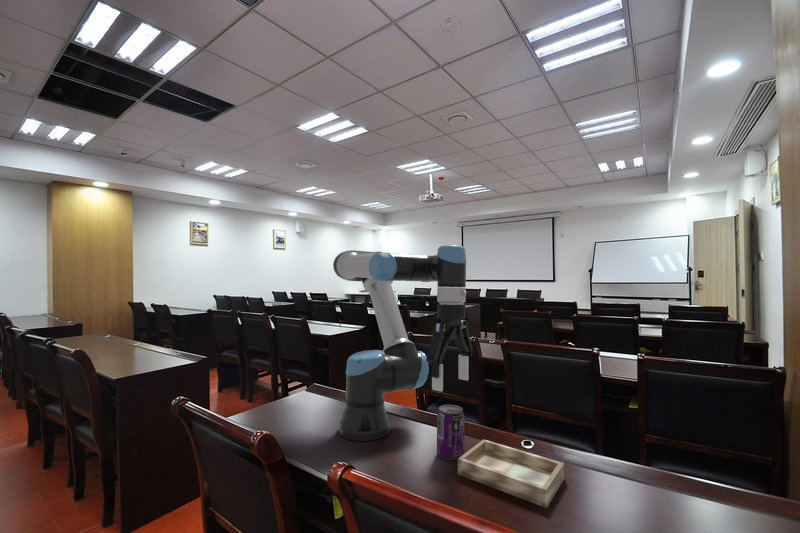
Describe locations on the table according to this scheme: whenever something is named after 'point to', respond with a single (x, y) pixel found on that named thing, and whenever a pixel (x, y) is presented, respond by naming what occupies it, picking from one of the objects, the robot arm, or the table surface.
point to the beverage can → (450, 432)
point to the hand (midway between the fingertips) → (451, 384)
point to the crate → (513, 471)
